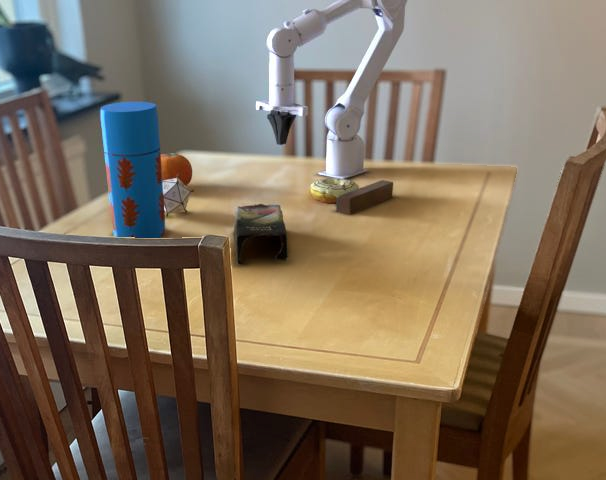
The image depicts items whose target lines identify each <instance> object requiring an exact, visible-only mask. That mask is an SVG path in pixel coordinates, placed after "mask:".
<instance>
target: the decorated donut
mask: <svg viewBox="0 0 606 480" xmlns="http://www.w3.org/2000/svg"><path fill="white" fill-rule="evenodd" d="M359 188H360V185H359V184H358V183H356V182H355V181H353V180H351V179H347V178H346V179H341V178H334V177H326V178H320V179H317V180H315V181H314V182H312V183H310V188H309V191H310V193H311V196H312V197H313V198H314V200H316V201H320V202H321V203H327V204H330V203H333V204H334V203H337V197H339V196H340V195H343V194H346V193H348V192H351V191H354V190H357V189H359Z"/></svg>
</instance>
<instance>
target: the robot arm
mask: <svg viewBox="0 0 606 480" xmlns="http://www.w3.org/2000/svg"><path fill="white" fill-rule="evenodd" d="M407 3H408V0H336V1H334V2H333V3H332V4H330V5H328V6H326V7H325V8H323V9H322V10H318V9H315V8H311V9H309V8H306V9H304V10H302V14H300V16H298V17H296V18H294V19H292V20H290V21H289V20H286V21H284V22H283V25H284V27H283V26H279V27H275V28H273V29H272V30H271V31H270V32H269V34H268V36H267V40H266V41H265V44H266V47H267V50H269V63H268V72H269V73H268V75H269V76H268V80H269V82H268V83H269V88H268V89H269V90H268V93H269V94H268V95H269V100H258V101H257V100H256V101H255V110H256V111H267V112H270V113H268V114H267V115H266V119H267V120H268V122H269V124H270V126H271V128H272V131H273V134H274V139H275V142H276V145H278V146H283V145H286V144H287V141H288V137H289V134H290V130H291V129H292V128H291V127H292V125H293V123H294V121H295V119H296V118H297V116H299V117H305V116H308V115H309V106H307V105H302V104H299V103H296V102H295V61H294V60H295V57H294V56H295V53H296V51H297V49H298V48H300V47H302V46H304V45H305V44H307V43H309V42H311V41H313V40H315V39H316V38H318V37H320V36H321V35H324V34H325V31H326V29H327V26H328V25H329V24H331V23H333V22H335V21H337V20H339V19H341V18H343V17H345V16H347V15H349V14H351V13H353V12H354V11H356V10H358V9H370V10H371V11H372V13H373V14H374V16H375V20H376V23H377V26H378V30H377V31H376V34H375V35H374V37H373V39H372V40H371V44H370V45H369V47H368V49H367V51H366V53H365V55H364V56H363V58H362V59H361V62H360V64H359V66H358V68H357V70H356V72H355V73H354V76H353V77H352V79H351V81H350V82H349V85H348V87H347V89H346V91H345V92H344V93H343V94H342V95H341V96H340V97H339V98H338V99H337V101H336V103H335V104H334V105H333V106H332V107H331V108H329V109H328V111H327V112H326V114H325V117H324V123H325V126H326V128H327V129H328V133H327V136H326V159H325V170H322V171H319V172H318V175H320V176H324V177H328V178H341V179H346V180H347V179H349V178H352V177H355V176H357V175H360V174H363V173H366V172H367V169H364V162H365V143H364V140H363V138H362V137H361V136H360V135H358V133H359V132H360V129H361V122H362V118H363V116H364V115H365V104H366V102H367V100H368V97H370V94H371V92H372V91H373V88H374V86H375V85H376V83H377V81H378V80H379V77H380V75H381V74H382V71H383V70H384V69H385V66H386V64H387V62H388V61H389V59H390V57H391V55H392V53H393V51H394V49H395V47H396V46H397V43H398V41H399V40H400V38H401V36H402V34H403V32H404V30H405V15H406V5H407Z"/></svg>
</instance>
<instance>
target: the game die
mask: <svg viewBox="0 0 606 480" xmlns="http://www.w3.org/2000/svg"><path fill="white" fill-rule="evenodd" d="M178 177H179V174H178V175H177V178H172V179H167V180H162V182H163V196H164V210H165V219H166V218H168V217H169V214H174V213H178V212H183V211H184V212H185V213H186V214H188V210H187V207H188V206H187V205H188V202H189V200H190V196H191V194H192V193H194V192H195V189H190V188H189V187H188V185H187V186H186V185H185V184H184V183H183V182H182V181H181V180H180V179H179V178H178ZM185 213H184V214H185Z"/></svg>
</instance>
